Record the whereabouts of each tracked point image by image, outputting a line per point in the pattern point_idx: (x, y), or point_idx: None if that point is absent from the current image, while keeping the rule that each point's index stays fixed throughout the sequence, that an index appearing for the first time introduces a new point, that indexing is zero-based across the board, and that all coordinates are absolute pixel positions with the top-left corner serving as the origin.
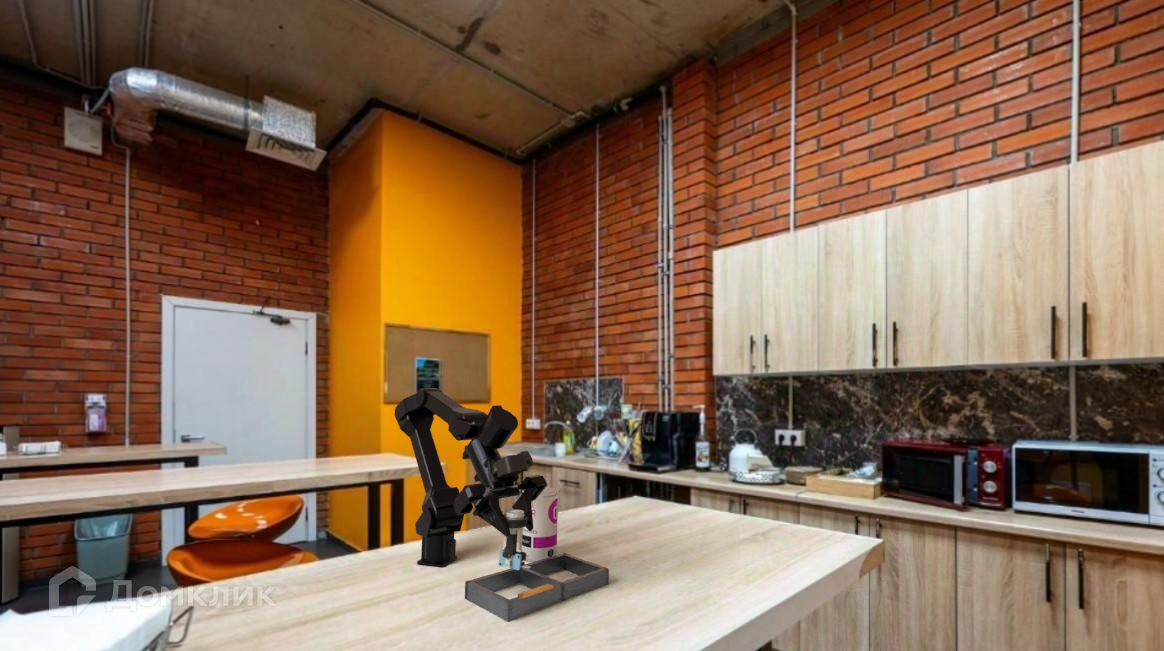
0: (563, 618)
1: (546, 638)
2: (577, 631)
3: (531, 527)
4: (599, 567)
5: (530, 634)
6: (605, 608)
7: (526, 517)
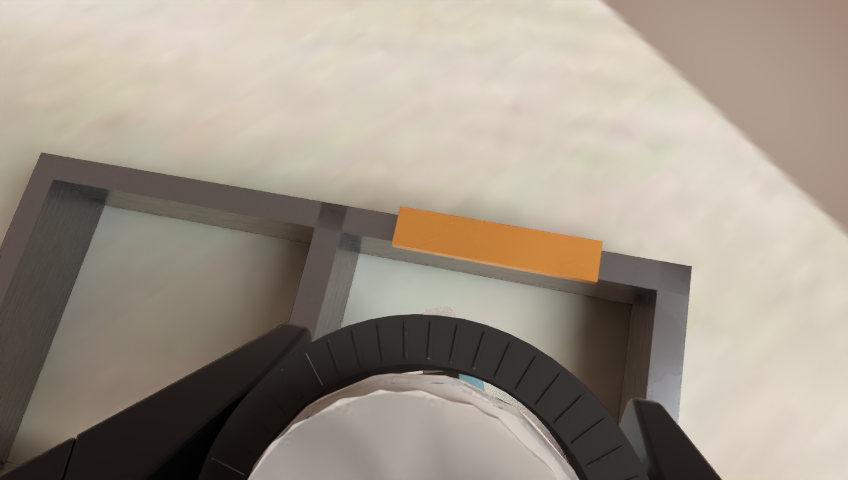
0: (485, 131)
1: (656, 82)
2: (539, 37)
3: (308, 332)
4: (44, 195)
5: (675, 143)
6: (316, 67)
7: (313, 375)
